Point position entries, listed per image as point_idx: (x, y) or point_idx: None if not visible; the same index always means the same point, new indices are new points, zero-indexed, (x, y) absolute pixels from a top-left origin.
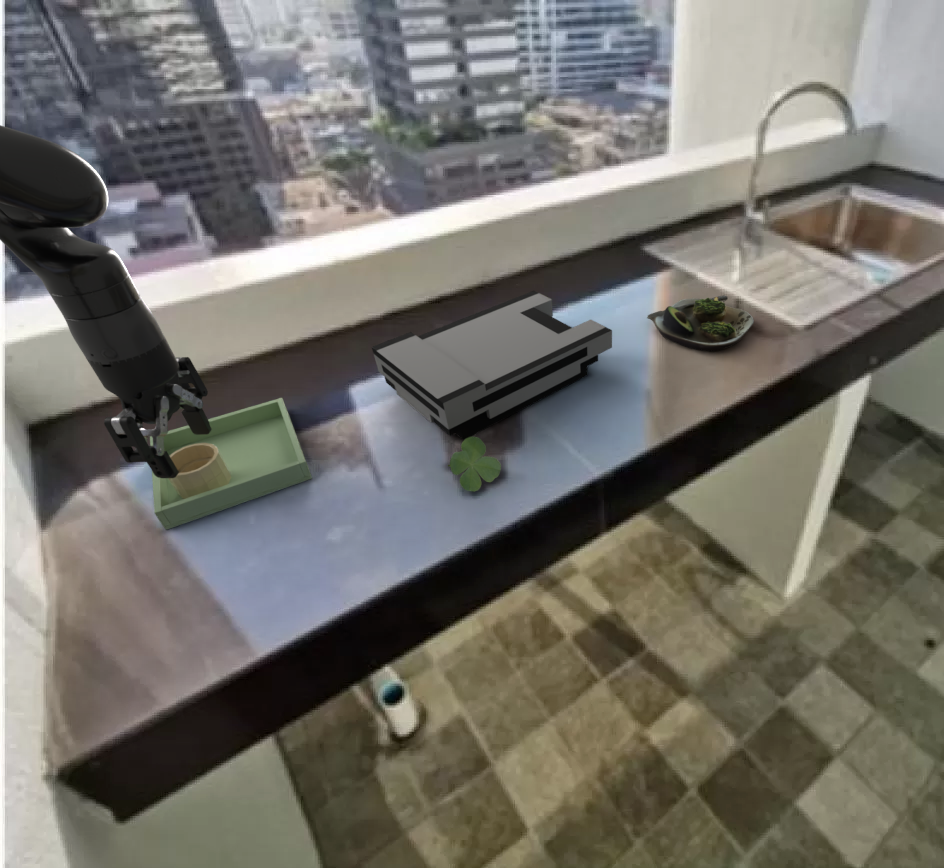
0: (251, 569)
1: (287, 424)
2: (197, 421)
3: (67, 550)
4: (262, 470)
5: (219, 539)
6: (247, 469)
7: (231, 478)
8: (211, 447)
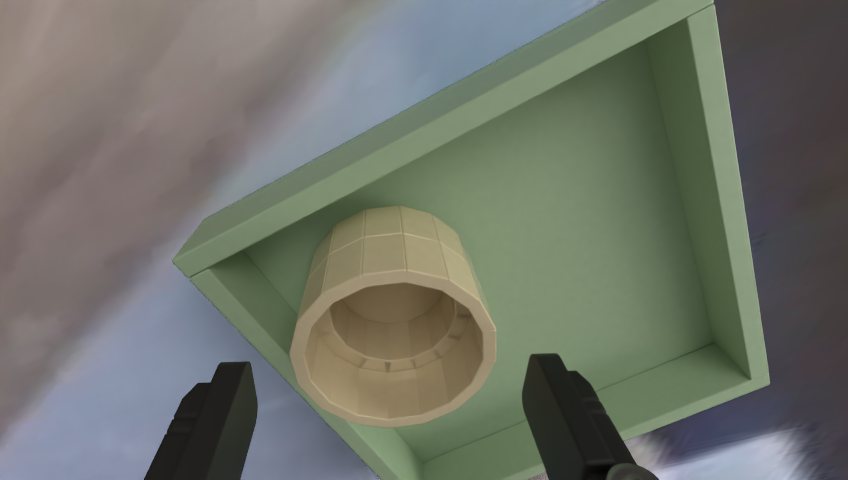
0: (114, 454)
1: None
2: (547, 445)
3: None
4: None
5: (192, 365)
6: None
7: None
8: (461, 391)
